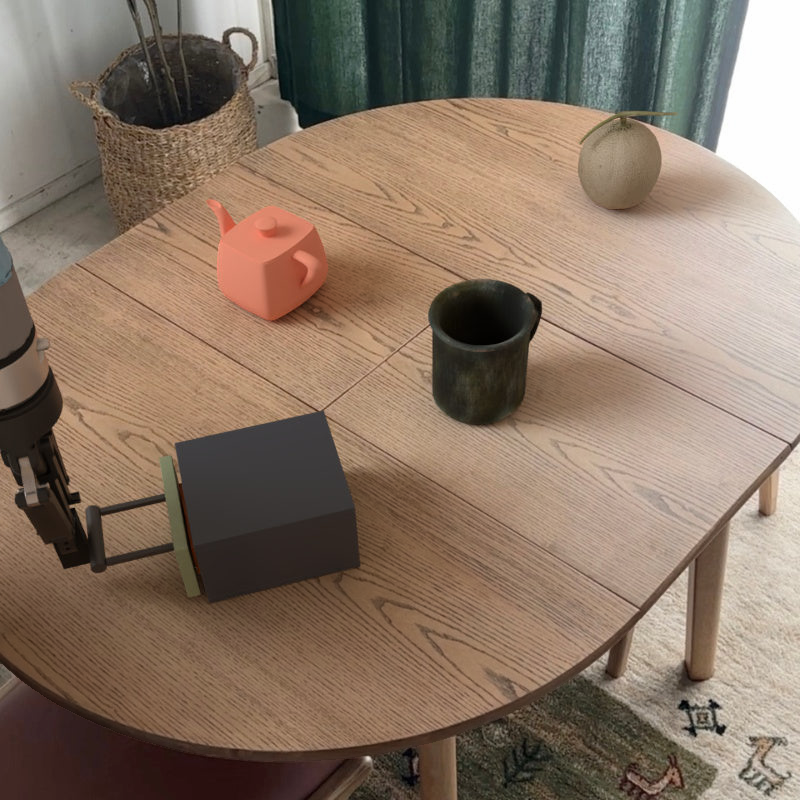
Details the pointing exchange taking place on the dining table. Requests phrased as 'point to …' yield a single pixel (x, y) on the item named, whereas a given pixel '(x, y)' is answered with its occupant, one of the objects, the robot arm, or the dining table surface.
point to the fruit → (620, 160)
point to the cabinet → (267, 506)
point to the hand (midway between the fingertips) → (78, 559)
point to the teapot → (269, 260)
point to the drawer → (178, 546)
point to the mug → (481, 348)
